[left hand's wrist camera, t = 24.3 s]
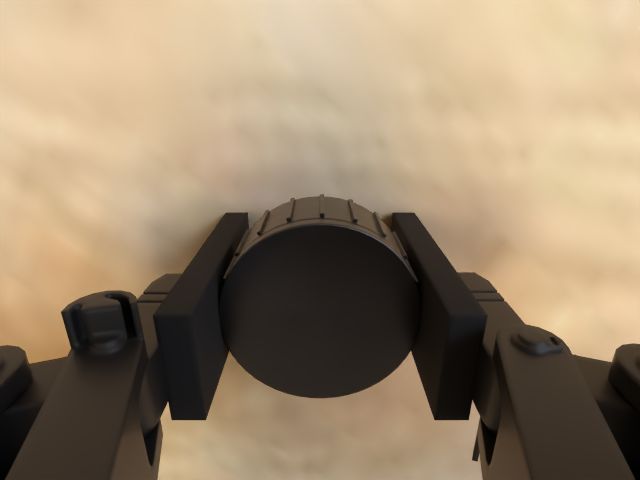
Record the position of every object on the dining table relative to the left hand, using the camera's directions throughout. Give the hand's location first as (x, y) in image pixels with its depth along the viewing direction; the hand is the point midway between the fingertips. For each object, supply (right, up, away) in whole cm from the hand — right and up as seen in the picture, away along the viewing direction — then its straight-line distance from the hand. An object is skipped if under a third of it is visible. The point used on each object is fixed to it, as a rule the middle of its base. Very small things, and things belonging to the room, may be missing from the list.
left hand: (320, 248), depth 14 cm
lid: (0, -2, -4) cm, 4 cm away
